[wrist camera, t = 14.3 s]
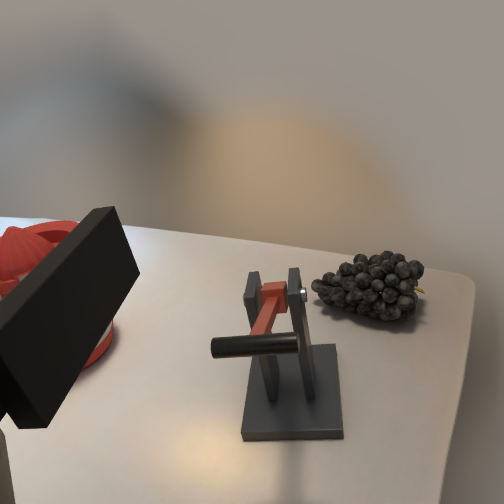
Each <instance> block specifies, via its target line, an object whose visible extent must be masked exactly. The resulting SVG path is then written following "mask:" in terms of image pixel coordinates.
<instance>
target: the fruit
mask: <svg viewBox="0 0 504 504" xmlns="http://www.w3.org/2000/svg"><path fill="white" fill-rule="evenodd" d="M353 262H354V265H352V264H350V263H347V262H345V263H342V264H341V265H340V267H339V270H337V273H336V274H334V273H332V272H327V273H325V274H324V276H323V278H322V280H320V279H316V280H314V281H313V282H312V285H311V288H312V290H313V291H314V292H317V293H318V296H319V298H320V299H322V300H323V302H324V303H325V304H327V305H333V304H334V303H336V304H337V305H338V306H340V307H343V306H345V305H346V304H347V305H346V309H347V311H348V312H349V313H355V312H356V311H357V310H358V312H359V313H360V314H363V315H366V314H367V313H368V314H369V315H370V316H371V317H373V318H375V317H378V316H379V318H380V319H381V320H383V321H389V320H390V319H392V320H395V319H398V318H400V319H401V320H404V321H408V320H411V319H412V318H413V316H414V314H415V310H416V305H415V303H416V302H417V300H418V296H417V294H416V293H415V292H414V290H417V291H419V292H422V293H424V291H423V290H422V289H420V288H418V287H417V286H418V281H417V280H418V279H420V278H421V277H422V275H423V273H424V267H423V265H422V264H421V263H420V262H419V261H416V260H412V261H410V262H409V263H407V262H406V260H405V257H404V255H402V254H399V253H397V254H393V253H392V252H390V251H384V252H383V253H381V254H380V255H373V256H371V257H370V259H369V260H368V259H367V257H366V256H365V255H364V254H358V255H356V256H355V257H354V260H353ZM369 265H370V267H369ZM408 276H409V277H408ZM379 292H381V293H382V294H380V293H379ZM397 299H398V300H397Z"/></svg>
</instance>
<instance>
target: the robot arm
mask: <svg viewBox="0 0 504 504" xmlns="http://www.w3.org/2000/svg"><path fill="white" fill-rule="evenodd" d="M139 275H140V272H139V269H138V267H137V264H136V262H135V259H134V256H133V254H132V251H131V249H130V246H129V243H128V241H127V238H126V236H125V233H124V230H123V228H122V225H121V222H120V220H119V218H118V215H117V212H116V210H115V207H114V206H111V207H103V208H96V209H93V210H92V211H91V212H90V213H89V214H88V215H87V216H86V217H85V218H84V219H83V220H82V221H81V222H80V223H79V224H78V225H77V226H76V227H75V228H74V229H73V230H72V231H71V232H70V233H69V234H68V235H67V236H66V237H65V238H64V239H63V240H62V241H61V242H60V243H59V244H58V245H57V246H56V247H55V248H54V249H53V250H52V251H51V252H50V253H49V254H48V255H47V256H46V257H45V258H44V259H43V260H42V261H41V262H40V263H39V264H38V265H37V266H36V267H35V268H34V269H33V270H32V271H31V272H30V273H29V274H28V275H27V276H26V277H25V278H24V279H23V280H22V281H21V282H20V283H19V284H18V285H17V286H16V287H15V288H14V289H13V290H12V291H11V292H10V293H9V294H8V295H6V296H5V297H3V298H2V299H1V300H0V421H1V420H2V418H3V417H4V416H5V414H6V413H8V414H9V416H10V417H11V419H12V420H13V422H14V423H15V424H16V426H17V427H18V429H37V428H47V427H48V425H49V424H50V422H51V420H52V419H53V417H54V416H55V414H56V412H57V411H58V409H59V407H60V406H61V404H62V402H63V401H64V399H65V397H66V396H67V394H68V392H69V391H70V389H71V387H72V386H73V384H74V382H75V381H76V379H77V377H78V376H79V374H80V372H81V371H82V369H83V367H84V366H85V364H86V362H87V361H88V359H89V358H90V356H91V354H92V353H93V351H94V349H95V348H96V346H97V344H98V343H99V341H100V339H101V338H102V336H103V334H104V333H105V331H106V329H107V328H108V326H109V324H110V323H111V321H112V319H113V318H114V316H115V314H116V313H117V311H118V309H119V308H120V306H121V304H122V303H123V301H124V300H125V298H126V296H127V295H128V293H129V291H130V290H131V288H132V286H133V285H134V283H135V281H136V280H137V278H138V276H139ZM0 504H15V498H14V492H13V485H12V479H11V472H10V466H9V459H8V453H7V446H6V440H5V435H4V434H3V432H2V430H1V429H0Z"/></svg>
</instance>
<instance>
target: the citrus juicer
mask: <svg viewBox="0 0 504 504" xmlns="http://www.w3.org/2000/svg"><path fill="white" fill-rule="evenodd" d="M78 224H79V223H77V222H74V221H53V222H46V223H41V224H37V225H33V226H30V227H26V228H23V229H22V228H18V227H14V226H11V227H8V228H7V229H6V231H5V232H4V234H3V236H2V237H0V300H1V299H2V298H3V297H5V296H6V295H8V294H9V293H10V292H11V291H12V290H13V289H14V288H15V287H16V286H17V285H18V284H19V283H20V282H21V281H22V280H23V279H24V278H25V277H26V276H27V275H28V274H29V273H30V272H31V271H32V270H33V269H34V268H35V267H36V266H37V265H38V264H39V263H40V262H41V261H42V260H43V259H44V258H45V257H46V256H47V255H48V254H49V253H50V252H51V251H52V250H53V249H54V248H55V247H56V246H57V245H58V244H59V243H60V242H61V241H62V240H63V239H64V238H65V237H66V236H67V235H68V234H69V233H70V232H71V231H72V230H73V229H74V228H75V227H76V226H77V225H78ZM112 333H113V319H112V321H111V323H110V324H109V326H108V328H107V329H106V331H105V333H104V334H103V336H102V338H101V339H100V341H99V343H98V344H97V346H96V348H95V349H94V351H93V353H92V354H91V356H90V358H89V359H88V361H87V362H86V364H85V366H84V367H83V368H85V367H87V366H89V365H91V364H92V363H93V362H94V361H95V360H96V359H98V358H99V357H100V356H101V355H102V354H103V353H104V351H105V350H106V349H107V348H108V346H109V344H110V342H111V339H112Z"/></svg>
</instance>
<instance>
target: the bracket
mask: <svg viewBox="0 0 504 504" xmlns="http://www.w3.org/2000/svg"><path fill="white" fill-rule="evenodd" d="M261 289H262V285H261V280H260V275H259V272H258V271H256V272H249V275H248V280H247V285H246V289H245V293H244V295H243V302H244V306H245V307H246V310H247V315H248V319H249V323H250V327H251V330H252V328H253V326H254V324H255V322H256V320H257V318H258V316H259V313H260V311H261V309H262V307H263V306H262V299H261V292H260V290H261ZM287 296H288V302H289V308H290V313H291V319H292V324H293V330H294V332H298V335H299V342H300V353H299V354H282V355H266V356H252V362H251V368H250V375H249V381H248V388H247V394H246V401H245V408H244V414H243V421H242V427H241V435H242V438H243V440H244V441H247V440H287V439H327V438H343V437H344V436H343V425H342V413H341V401H340V389H339V377H338V365H337V353H336V344H321V345H311V341H310V335H309V328H308V322H307V316H306V309H305V303H304V302H307V292H306V288H305V287H304V288H302V284H301V278H300V271H299V268H289V275H288V290H287ZM270 334H272V332H270Z"/></svg>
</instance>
